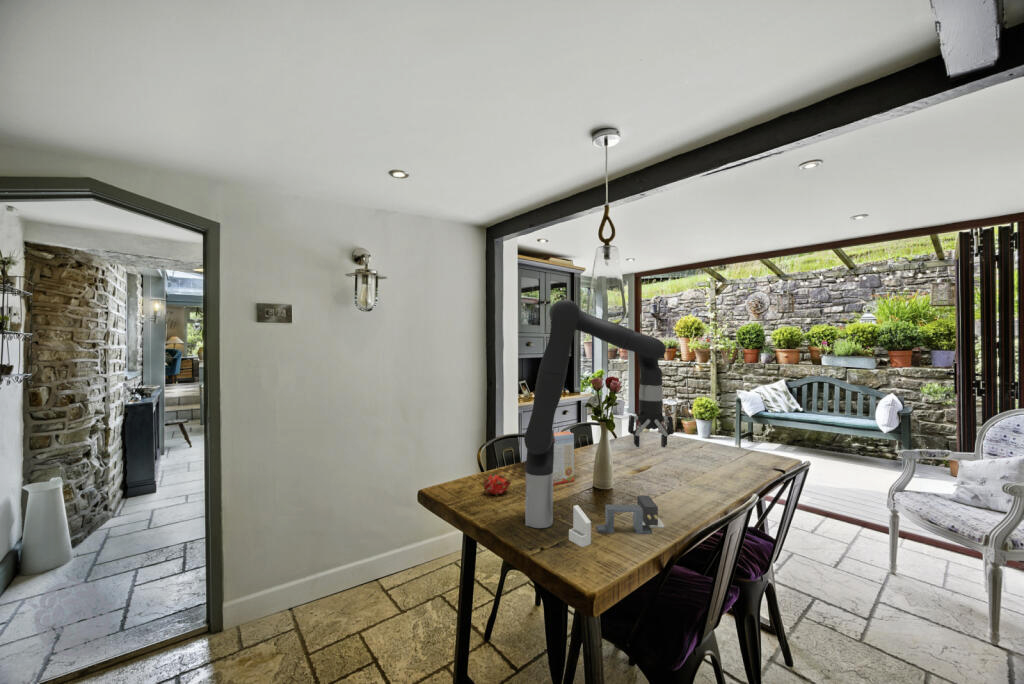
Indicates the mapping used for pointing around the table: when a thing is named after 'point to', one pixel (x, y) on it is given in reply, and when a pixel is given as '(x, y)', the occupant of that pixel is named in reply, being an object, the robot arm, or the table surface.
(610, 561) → the table surface
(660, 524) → the pad
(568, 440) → the cracker box
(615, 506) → the grey arch bracket
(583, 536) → the white wedge bracket
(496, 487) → the dragon fruit
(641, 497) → the plug
